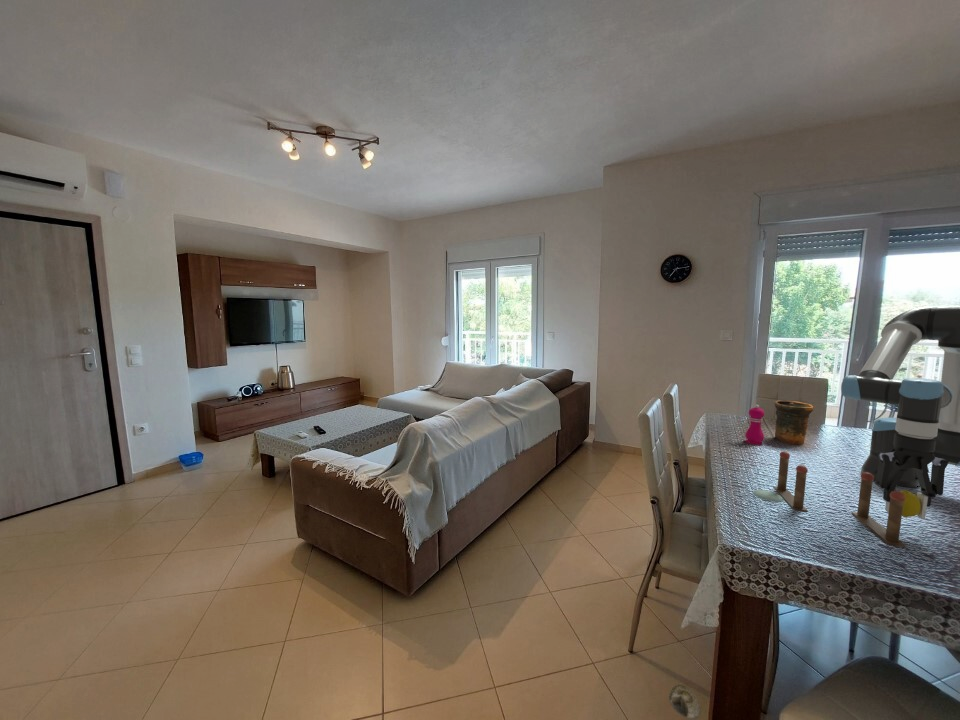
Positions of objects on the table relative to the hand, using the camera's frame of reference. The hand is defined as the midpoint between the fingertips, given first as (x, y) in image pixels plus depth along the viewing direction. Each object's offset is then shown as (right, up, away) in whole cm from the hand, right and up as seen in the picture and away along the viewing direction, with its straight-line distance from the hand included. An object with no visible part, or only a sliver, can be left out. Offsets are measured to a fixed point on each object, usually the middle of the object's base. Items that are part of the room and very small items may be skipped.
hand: (904, 514), depth 105 cm
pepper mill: (+12, +2, +74) cm, 75 cm away
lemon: (0, -1, 0) cm, 1 cm away
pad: (-21, -3, +22) cm, 31 cm away
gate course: (-11, -5, +11) cm, 16 cm away
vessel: (+31, +3, +76) cm, 82 cm away
